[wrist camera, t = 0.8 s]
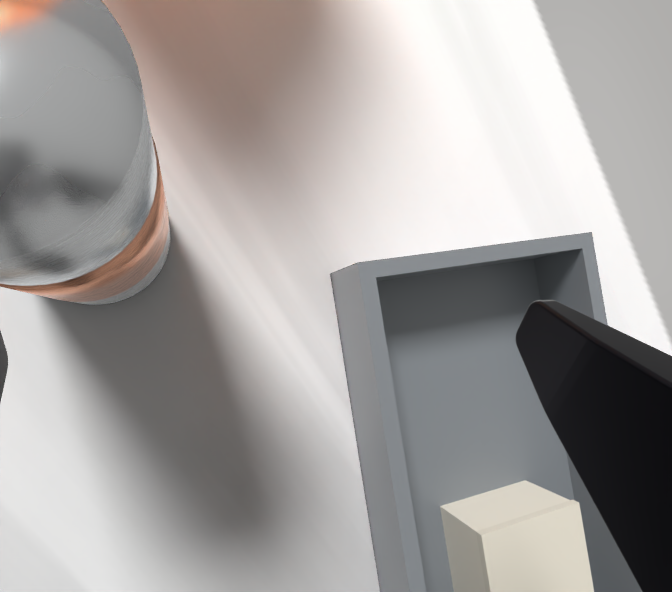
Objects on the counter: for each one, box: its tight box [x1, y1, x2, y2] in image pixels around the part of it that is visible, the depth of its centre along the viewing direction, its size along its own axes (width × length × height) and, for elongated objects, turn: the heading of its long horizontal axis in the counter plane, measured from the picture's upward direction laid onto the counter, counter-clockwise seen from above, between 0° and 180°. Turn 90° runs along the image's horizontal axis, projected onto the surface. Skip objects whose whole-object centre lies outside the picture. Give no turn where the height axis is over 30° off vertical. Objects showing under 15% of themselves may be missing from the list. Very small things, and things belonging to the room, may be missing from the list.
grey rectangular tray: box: [330, 232, 642, 592], centre depth 23 cm, size 20×12×4 cm, turn 10°
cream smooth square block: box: [440, 480, 594, 592], centre depth 23 cm, size 6×5×4 cm
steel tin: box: [0, 0, 171, 305], centre depth 14 cm, size 6×6×13 cm
